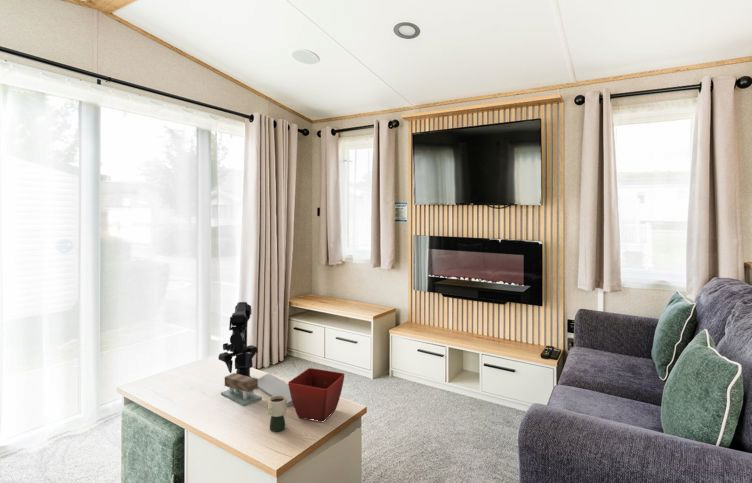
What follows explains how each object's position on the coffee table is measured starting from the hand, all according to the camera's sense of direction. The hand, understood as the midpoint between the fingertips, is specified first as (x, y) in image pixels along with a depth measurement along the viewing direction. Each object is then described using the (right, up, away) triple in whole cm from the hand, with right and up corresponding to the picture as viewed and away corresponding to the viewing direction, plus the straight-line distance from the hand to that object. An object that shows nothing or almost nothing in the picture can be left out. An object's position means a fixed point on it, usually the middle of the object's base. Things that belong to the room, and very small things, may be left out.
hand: (238, 370), depth 199 cm
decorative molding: (+18, -14, +4) cm, 23 cm away
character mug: (+27, -15, -32) cm, 44 cm away
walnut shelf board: (+2, -8, -1) cm, 8 cm away
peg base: (+2, -13, -1) cm, 13 cm away
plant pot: (+42, -14, -18) cm, 48 cm away
